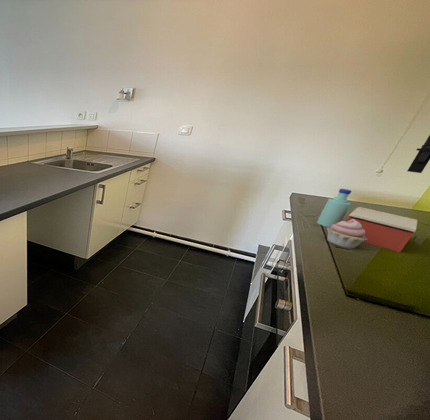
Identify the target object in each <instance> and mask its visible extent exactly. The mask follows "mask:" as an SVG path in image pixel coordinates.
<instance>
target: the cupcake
mask: <svg viewBox="0 0 430 420" xmlns="http://www.w3.org/2000/svg"><path fill="white" fill-rule="evenodd" d="M326 230H327V238H326V240H327V241H328V242H329V243H331V244H332V246H333V247H334V248H335V247H336V248H338V249H341V250H347V251H351V249H355V248H356V247H358V246H359V245H360V244H362V243H364V242H363V241H365V240H367V238H365V236H364V235H365V230H364V229H363V228H362V225H361V224H360V223H359V222H357V221H356V220H354V219H351V220H350V221H347V220H342V221H340V222H338V223H336V224H333V225H332V226H331V227H326Z"/></svg>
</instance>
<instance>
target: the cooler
mask: <svg viewBox="0 0 430 420" xmlns="http://www.w3.org/2000/svg"><path fill="white" fill-rule="evenodd" d="M351 219H354V220H356V221H357V222H359V223H360V224H361V225H362V228H363V229H364V230H365V235H364V236H365V238H367V240H365V241H363V242H362V243H367V244H370V245H374V246H376V247H379V248H384V249H387V250H391V251H394V252H397V253H401V252H402V251H403V249H404V248H405V246H406V245H407V244H408V242H409V240H410V239H411V238H412V236H413V235H414V233H415V232H413V231H409V230H404V229H400V228H396V227H392V226H388V225H384V224H380V223H376V222H372V221H368V220H364V219H360V218H356V217H352V216H349V215H348V217H347V219H346V221H350V220H351Z"/></svg>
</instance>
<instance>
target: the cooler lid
mask: <svg viewBox="0 0 430 420" xmlns="http://www.w3.org/2000/svg"><path fill="white" fill-rule="evenodd" d="M349 216H352V217H356V218H360V219H364V220H368V221H372V222H376V223H380V224H384V225H388V226H392V227H396V228H400V229H404V230H409V231H413V232H414V233H415V232H416V231H417V228H418V219H416V218H411V217H407V216H404V215H403V216H402V215H398V214H393V213H389V212H384V211H380V210H375V209H371V208H366V207H363V206H357V207H356V208H355V209H354V210H353V211H351V212H350V213H349V215H348V217H349Z"/></svg>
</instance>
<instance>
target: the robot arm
mask: <svg viewBox="0 0 430 420" xmlns="http://www.w3.org/2000/svg"><path fill="white" fill-rule="evenodd" d="M416 151H417V153H416V156H415V157H414V158H413V161H412V162H411V164H410V165H409V167H408V169H407V171H406V172H409V173H417V174H422V173H423V171H424V169H425V168H426V166H427V165H428V163H429V162H430V134H429V135H428V137H427V139H426V140H425V142H424V144H422V145H421V147H419V148H416Z"/></svg>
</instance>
